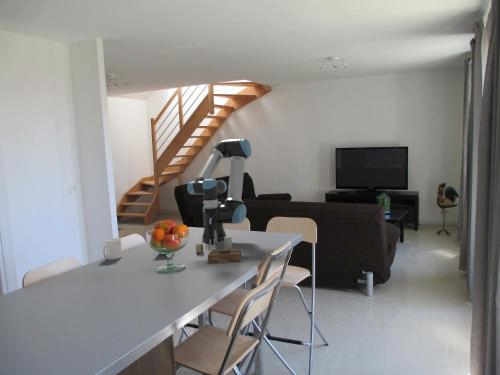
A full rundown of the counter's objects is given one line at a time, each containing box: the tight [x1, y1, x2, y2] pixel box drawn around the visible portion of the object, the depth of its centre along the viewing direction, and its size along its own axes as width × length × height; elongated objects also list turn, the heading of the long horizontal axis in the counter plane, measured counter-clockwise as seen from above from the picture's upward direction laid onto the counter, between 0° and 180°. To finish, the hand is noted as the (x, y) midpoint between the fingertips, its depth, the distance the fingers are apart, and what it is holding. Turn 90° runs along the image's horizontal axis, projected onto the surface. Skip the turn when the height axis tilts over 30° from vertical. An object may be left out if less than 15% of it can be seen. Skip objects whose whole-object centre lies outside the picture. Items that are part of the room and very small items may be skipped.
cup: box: [102, 237, 123, 261], centre depth 224 cm, size 8×12×10 cm
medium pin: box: [223, 236, 233, 249], centre depth 225 cm, size 4×4×8 cm
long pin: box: [209, 230, 218, 252], centre depth 225 cm, size 4×4×12 cm
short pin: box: [195, 242, 205, 255], centre depth 226 cm, size 4×4×5 cm
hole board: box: [207, 248, 243, 265], centre depth 209 cm, size 12×16×4 cm
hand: (214, 248), depth 225 cm, fingers open, 6 cm apart
